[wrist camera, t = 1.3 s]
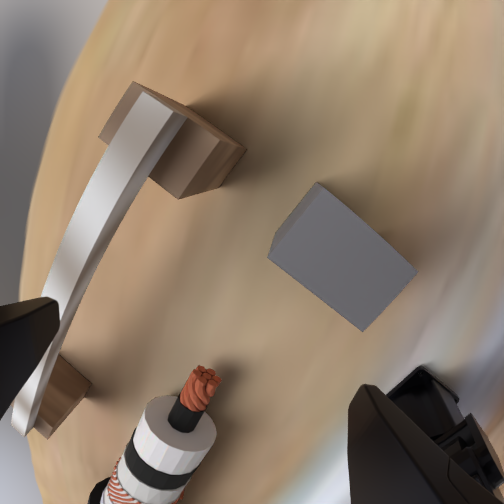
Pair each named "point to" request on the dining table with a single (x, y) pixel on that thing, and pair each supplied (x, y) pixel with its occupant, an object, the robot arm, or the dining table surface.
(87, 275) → the arch bridge
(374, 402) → the robot arm
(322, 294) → the grey u-channel block
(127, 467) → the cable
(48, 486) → the dining table surface
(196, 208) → the dining table surface
